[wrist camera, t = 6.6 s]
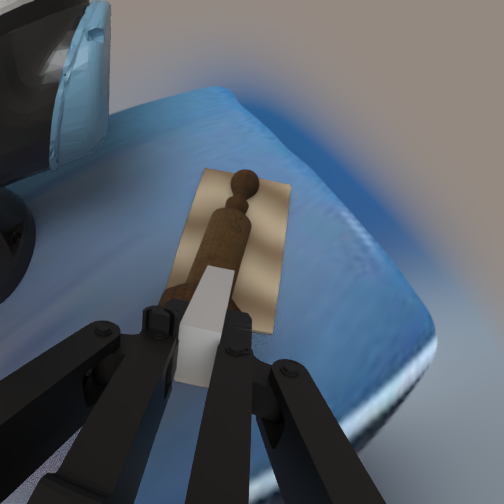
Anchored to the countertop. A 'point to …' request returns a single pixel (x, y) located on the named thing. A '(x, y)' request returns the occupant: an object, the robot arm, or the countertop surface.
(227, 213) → the wooden pepper mill
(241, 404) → the robot arm
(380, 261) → the countertop surface
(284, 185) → the oak board
